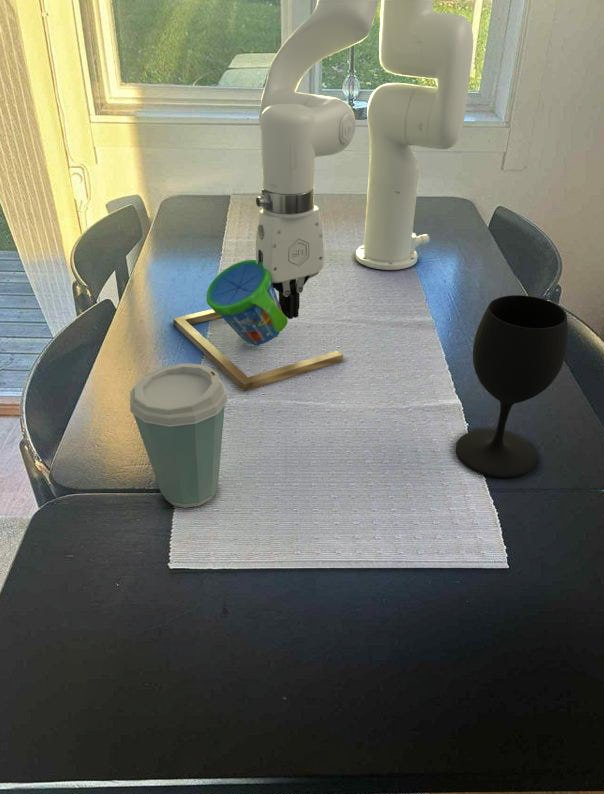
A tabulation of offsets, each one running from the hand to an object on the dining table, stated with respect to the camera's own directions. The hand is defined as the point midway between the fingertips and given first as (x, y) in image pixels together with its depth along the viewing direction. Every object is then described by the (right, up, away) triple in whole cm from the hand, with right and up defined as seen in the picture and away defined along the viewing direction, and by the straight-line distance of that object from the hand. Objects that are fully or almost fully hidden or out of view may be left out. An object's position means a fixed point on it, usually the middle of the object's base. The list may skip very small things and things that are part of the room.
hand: (289, 314), depth 114 cm
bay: (-5, -4, 0) cm, 7 cm away
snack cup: (-4, -3, -1) cm, 5 cm away
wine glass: (+28, -24, -23) cm, 43 cm away
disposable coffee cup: (-11, -28, -30) cm, 43 cm away
